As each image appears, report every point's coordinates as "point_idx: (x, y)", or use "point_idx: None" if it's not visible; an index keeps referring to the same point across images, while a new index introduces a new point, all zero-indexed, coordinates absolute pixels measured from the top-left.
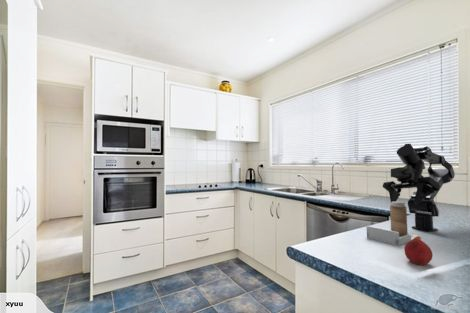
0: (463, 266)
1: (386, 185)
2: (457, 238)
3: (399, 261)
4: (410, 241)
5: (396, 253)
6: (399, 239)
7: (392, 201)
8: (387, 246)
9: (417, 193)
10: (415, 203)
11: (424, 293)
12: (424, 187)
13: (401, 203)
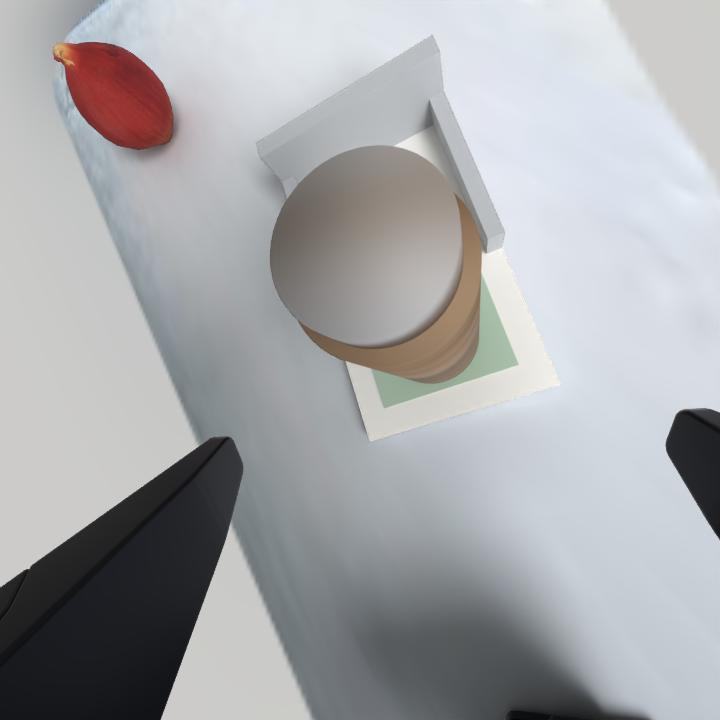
0: (133, 279)
1: None
2: (334, 693)
3: (207, 105)
4: (93, 42)
5: None
6: (284, 186)
7: (718, 446)
8: None
9: (31, 587)
10: (228, 447)
11: None
12: None
13: (277, 228)
